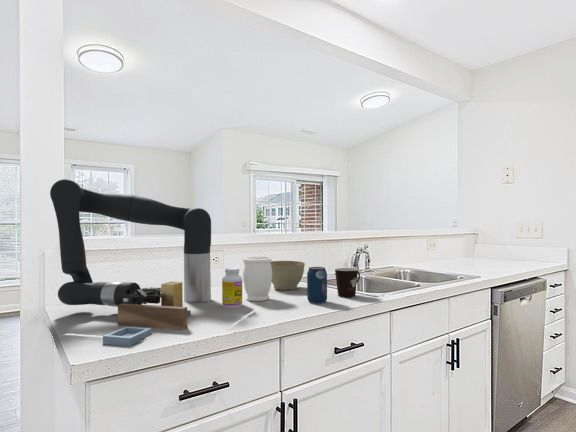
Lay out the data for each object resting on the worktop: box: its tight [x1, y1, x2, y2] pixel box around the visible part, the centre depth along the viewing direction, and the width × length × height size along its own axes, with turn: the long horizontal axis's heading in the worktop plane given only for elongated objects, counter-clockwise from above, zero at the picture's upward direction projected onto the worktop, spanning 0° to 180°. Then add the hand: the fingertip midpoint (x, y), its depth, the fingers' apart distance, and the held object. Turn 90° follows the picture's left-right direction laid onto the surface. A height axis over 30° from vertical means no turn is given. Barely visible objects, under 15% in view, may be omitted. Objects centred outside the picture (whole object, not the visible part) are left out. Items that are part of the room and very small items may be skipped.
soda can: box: [306, 266, 328, 305], centre depth 139 cm, size 7×7×12 cm
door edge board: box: [117, 304, 188, 331], centre depth 107 cm, size 2×20×6 cm, turn 75°
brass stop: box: [160, 281, 184, 307], centre depth 117 cm, size 5×4×10 cm
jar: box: [242, 256, 273, 302], centre depth 145 cm, size 11×10×15 cm
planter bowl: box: [270, 260, 306, 291], centre depth 167 cm, size 16×16×11 cm
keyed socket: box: [102, 326, 153, 347], centre depth 98 cm, size 8×8×2 cm
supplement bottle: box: [221, 267, 243, 309], centre depth 132 cm, size 7×7×13 cm
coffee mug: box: [334, 267, 361, 299], centre depth 150 cm, size 12×9×10 cm
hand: (167, 296), depth 117 cm, fingers open, 8 cm apart
